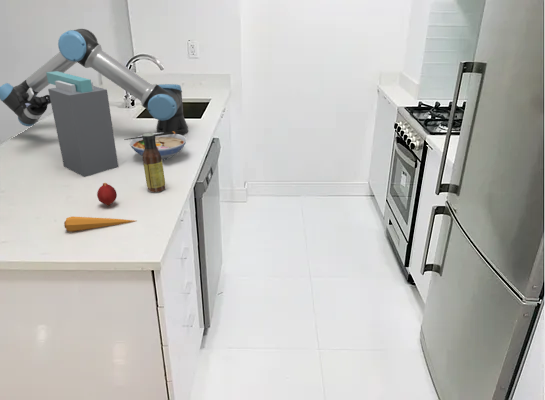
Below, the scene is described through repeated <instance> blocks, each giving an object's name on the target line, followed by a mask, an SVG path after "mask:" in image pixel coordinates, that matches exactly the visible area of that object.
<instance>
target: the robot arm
mask: <svg viewBox="0 0 545 400" xmlns="http://www.w3.org/2000/svg"><path fill="white" fill-rule="evenodd" d="M57 45H58V51H59V52H58V53H56V55H54V56H52V57H51V58H50V59H49V60H48V61H47V62H45V63H44V64H43V65H41V67H39V68H38V69H37V70H36V71H34V72H33V73H32V74H30V76H28V77H27V78H25V80H23V81H22V82H20V83H19V84H18V85H15V86H13V85H12V84H10V83H8V82H5V83H4V84H2V85H0V101H1V102H3V103H4V105H6V106H7V107H8V108H9V109H10V110H11V111H12V112H13V113H14V114H16V115H17V120H18V122H19V123H20V124H21V125H23V126H24V127H32V126H34V125H35V124H36V123H38V121H39V120H40V118H41V117H42V115H43V114H45V112H46V111H47V109H48V105H50V104H51V101H50V96H49V94H46V95H43V96H38V94H39V93H40V92H42V91H43V90H44V89H45V88H47V87H48V86H49V85H50V83H48V79H47V74H46V72H54V71H58V72H62V73H65V72H67V71H68V70H69V69H71V68H72V67H74V65H75V64H78V65H81V66H82V67H83V68H86V69H88V68H91V69H93V70H94V71H96V72H97V73H99V74H100V75H101V76H104V77H105V78H106V79H108V80H109V81H110V82H112V83H113V84H115V85H116V86H118V87H120V88H121V89H123V90H124V91H126V92H127V93H128V94H129V95H131V96H132V97H135V98H136V99H138V100H139V101H140V104H141V106H142V107H143V108H145V109H146V110H147V111H148V113H149V114H150V116H152V118H154V120H157V123H156V127H155V129H156V133H166V132H172V131H179V130H183V131H184V133H178V134H180V135H182V134H183V135H185V133H186V134H187V133H188V132H189V127H188V124H187V121H186V119H185V117H184V108H183V107H184V106H183V95H182V93H183V91H182V86H181V85H180V84H177V83H176V84H175V83H174V84H173V83H165V84H164V83H163V84H162V83H161V84H157V83H154V84H151V83H149V82H148V81H147V80H145V79H144V78H143V77H141V76H139V75H138V74H137V73H136V72H135V71H133V70H131V69H130V68H128V67H127V66H125V65H123V64H122V63H121V62H119V60H117V59H115V58H113V56H111V55H109V54H108V53H107V52H105V51H103V49H102V45H101V44H100V43H99V42H98V39H97V37H96V35H95V34H94V33H93V32H92V31H91V30H89V29H86V28H78V29H72V30H71V29H70V30H66V31H65V32H64V33H62V34H61V35H60V36H59V38H58V43H57ZM183 135H182V136H183Z"/></svg>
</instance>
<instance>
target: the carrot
mask: <svg viewBox="0 0 545 400" xmlns="http://www.w3.org/2000/svg"><path fill="white" fill-rule="evenodd" d="M134 222H136V220H133V219H123V218H122V219H121V218H110V217H109V218H107V217H92V216H91V217H89V216H88V217H87V216H69V217H66V219H65V221H64V223H63V224H64V225H63V226H64V229H65V230H66V231H67V232H69V233H74V232H81V231H86V230H87V231H88V230H92V229H98V228H100V229H101V228H105V227H112V226H119V225H125V224H129V223H134Z"/></svg>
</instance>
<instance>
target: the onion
mask: <svg viewBox="0 0 545 400" xmlns="http://www.w3.org/2000/svg"><path fill="white" fill-rule="evenodd" d="M96 196H97V199H98V201H99V202H100V203H102V204H104V205H105V206H107V207H108V206H111V205H112V204H113V203H114V202H115V201H116V199H117V197H118V195H117V190H116V188H115V187H113V186H112V185H111V184H109V183H108V182H103V183H102V185H101V186H100V187H99V188H98V190H97V193H96Z"/></svg>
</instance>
